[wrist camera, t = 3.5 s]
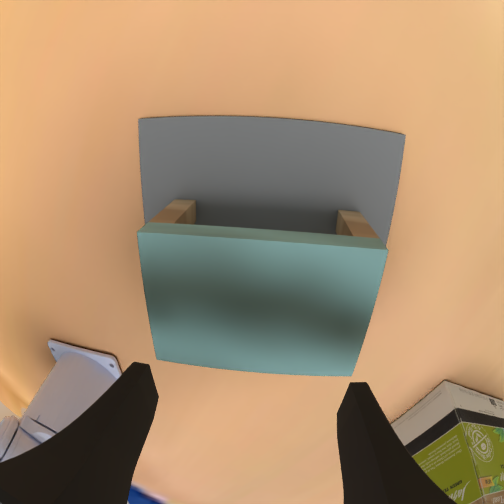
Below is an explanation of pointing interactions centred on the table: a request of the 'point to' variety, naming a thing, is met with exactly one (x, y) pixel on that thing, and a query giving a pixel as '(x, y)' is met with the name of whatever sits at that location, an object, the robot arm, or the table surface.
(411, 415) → the tea box
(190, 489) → the table surface
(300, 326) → the footstool
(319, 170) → the floor mat
